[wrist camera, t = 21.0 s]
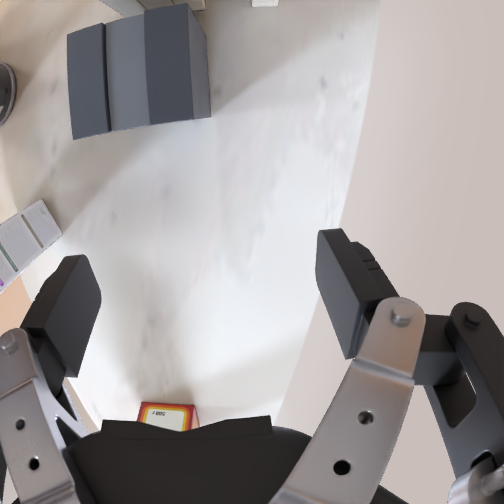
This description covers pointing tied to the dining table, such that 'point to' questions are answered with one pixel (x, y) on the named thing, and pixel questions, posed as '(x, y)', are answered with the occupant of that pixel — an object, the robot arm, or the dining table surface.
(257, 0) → the white book
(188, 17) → the grey books
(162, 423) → the baking soda box
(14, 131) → the dining table surface
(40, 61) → the dining table surface
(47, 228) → the syrup box
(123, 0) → the white books
